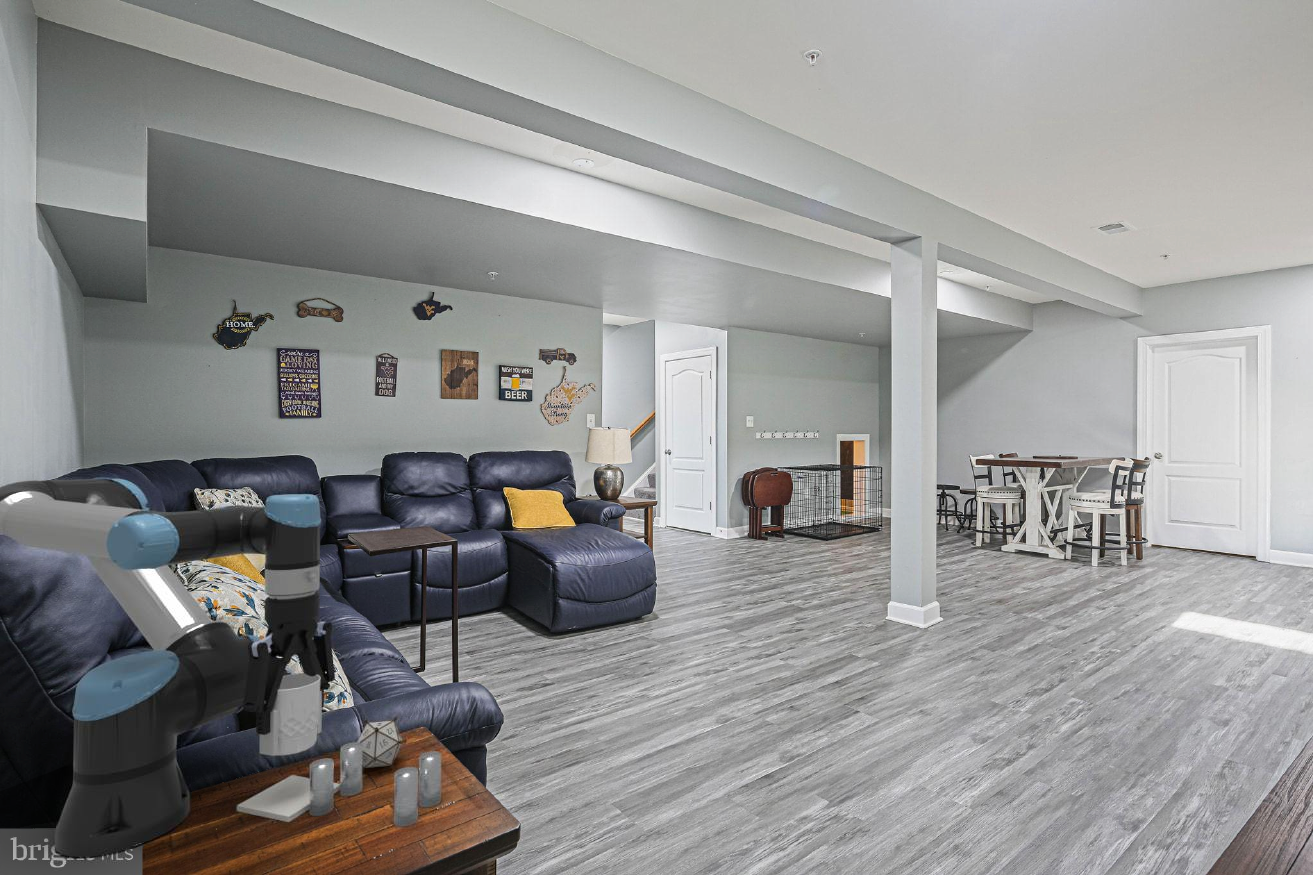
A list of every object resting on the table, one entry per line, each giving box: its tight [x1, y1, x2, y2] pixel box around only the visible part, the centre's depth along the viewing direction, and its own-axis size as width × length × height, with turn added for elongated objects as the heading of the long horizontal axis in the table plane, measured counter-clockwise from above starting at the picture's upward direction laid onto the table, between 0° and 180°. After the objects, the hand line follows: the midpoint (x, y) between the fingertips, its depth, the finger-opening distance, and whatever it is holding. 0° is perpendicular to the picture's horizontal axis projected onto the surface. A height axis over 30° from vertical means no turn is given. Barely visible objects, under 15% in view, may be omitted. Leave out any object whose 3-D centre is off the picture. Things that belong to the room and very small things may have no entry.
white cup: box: [264, 672, 321, 756], centre depth 103 cm, size 8×8×10 cm
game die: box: [356, 715, 408, 773], centre depth 114 cm, size 9×8×10 cm
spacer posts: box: [308, 741, 442, 828], centre depth 101 cm, size 17×10×7 cm, turn 72°
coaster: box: [236, 774, 340, 823], centre depth 103 cm, size 10×10×1 cm
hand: (291, 742), depth 103 cm, fingers closed on white cup, 7 cm apart
